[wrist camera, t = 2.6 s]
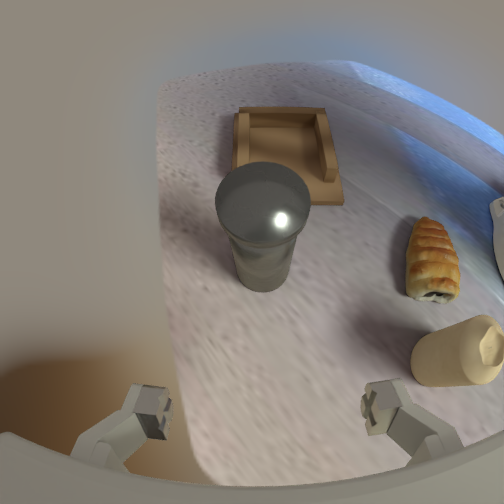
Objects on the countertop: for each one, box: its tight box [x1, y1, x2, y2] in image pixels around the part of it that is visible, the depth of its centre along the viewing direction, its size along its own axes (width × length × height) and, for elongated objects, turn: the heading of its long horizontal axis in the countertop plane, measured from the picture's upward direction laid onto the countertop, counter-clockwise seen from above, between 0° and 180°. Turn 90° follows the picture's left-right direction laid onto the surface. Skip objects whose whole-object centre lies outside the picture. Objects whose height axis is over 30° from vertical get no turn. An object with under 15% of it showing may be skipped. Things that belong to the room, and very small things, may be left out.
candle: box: [410, 315, 504, 387], centre depth 20 cm, size 6×6×10 cm
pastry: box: [405, 217, 460, 304], centre depth 27 cm, size 9×7×4 cm
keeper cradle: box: [232, 107, 344, 205], centre depth 33 cm, size 14×12×3 cm
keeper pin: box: [215, 161, 311, 292], centre depth 24 cm, size 6×6×12 cm
